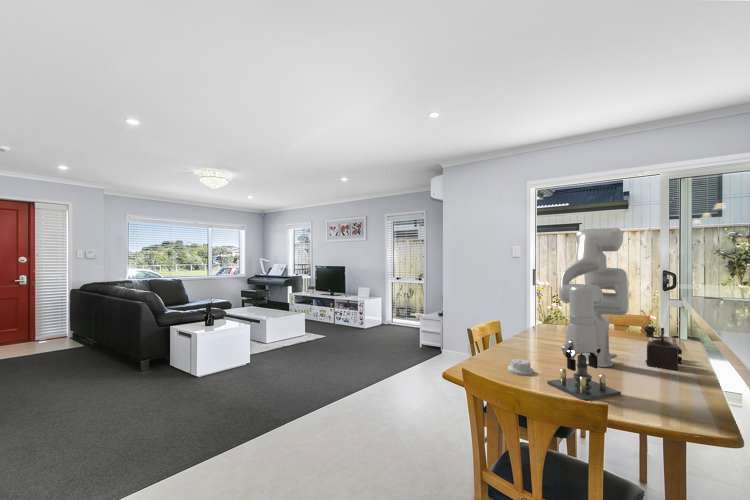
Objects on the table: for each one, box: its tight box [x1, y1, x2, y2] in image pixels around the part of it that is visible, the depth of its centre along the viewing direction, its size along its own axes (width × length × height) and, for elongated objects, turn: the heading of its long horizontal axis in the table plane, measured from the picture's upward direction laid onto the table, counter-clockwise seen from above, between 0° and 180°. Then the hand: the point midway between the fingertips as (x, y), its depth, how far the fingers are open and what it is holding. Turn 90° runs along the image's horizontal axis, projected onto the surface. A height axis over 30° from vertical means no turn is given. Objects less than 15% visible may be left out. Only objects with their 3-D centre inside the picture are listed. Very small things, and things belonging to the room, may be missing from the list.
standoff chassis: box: [547, 368, 622, 401], centre depth 126 cm, size 16×16×6 cm
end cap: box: [678, 346, 683, 365], centre depth 161 cm, size 10×7×7 cm
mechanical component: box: [507, 358, 535, 376], centre depth 146 cm, size 10×4×10 cm
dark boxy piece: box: [643, 325, 679, 372], centre depth 152 cm, size 16×11×18 cm
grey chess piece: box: [572, 353, 593, 389], centre depth 126 cm, size 6×6×12 cm
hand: (582, 368), depth 126 cm, fingers open, 9 cm apart
